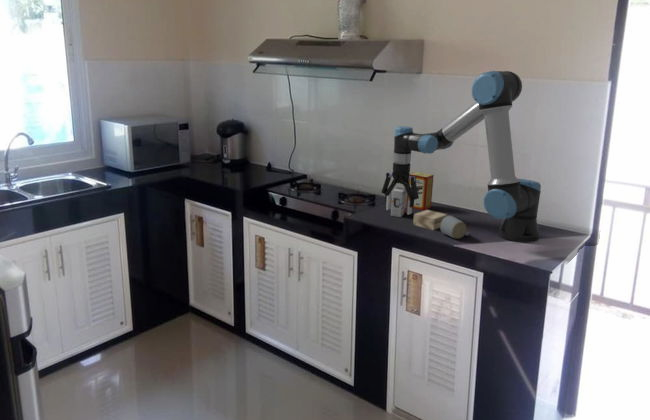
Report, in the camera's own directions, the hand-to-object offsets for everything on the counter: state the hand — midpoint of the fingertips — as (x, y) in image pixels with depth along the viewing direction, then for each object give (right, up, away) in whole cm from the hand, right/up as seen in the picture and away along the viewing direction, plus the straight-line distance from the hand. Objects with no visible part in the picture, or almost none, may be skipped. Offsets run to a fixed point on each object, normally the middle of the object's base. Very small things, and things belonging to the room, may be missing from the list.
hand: (398, 211), depth 246 cm
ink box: (0, -1, 0) cm, 2 cm away
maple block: (+11, -6, -14) cm, 19 cm away
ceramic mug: (+19, -10, -27) cm, 34 cm away
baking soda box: (+11, +2, +13) cm, 17 cm away
